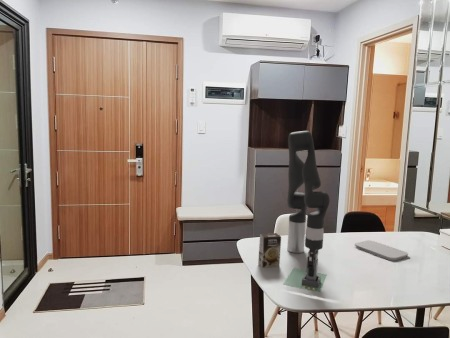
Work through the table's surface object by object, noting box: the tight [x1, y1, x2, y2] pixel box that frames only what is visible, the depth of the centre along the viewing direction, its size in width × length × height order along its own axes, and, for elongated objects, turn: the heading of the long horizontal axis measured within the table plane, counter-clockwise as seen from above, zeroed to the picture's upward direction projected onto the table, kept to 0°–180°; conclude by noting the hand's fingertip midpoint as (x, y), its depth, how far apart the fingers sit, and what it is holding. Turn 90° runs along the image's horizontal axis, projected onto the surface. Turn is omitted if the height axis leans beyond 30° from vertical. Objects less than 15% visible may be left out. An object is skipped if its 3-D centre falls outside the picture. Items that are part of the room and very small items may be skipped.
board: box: [282, 267, 328, 293], centre depth 164 cm, size 20×16×4 cm
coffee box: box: [257, 232, 282, 268], centre depth 179 cm, size 9×6×16 cm
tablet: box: [354, 240, 409, 262], centre depth 206 cm, size 16×26×2 cm, turn 32°
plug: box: [306, 258, 319, 281], centre depth 159 cm, size 4×4×10 cm
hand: (311, 274), depth 159 cm, fingers closed on plug, 4 cm apart
